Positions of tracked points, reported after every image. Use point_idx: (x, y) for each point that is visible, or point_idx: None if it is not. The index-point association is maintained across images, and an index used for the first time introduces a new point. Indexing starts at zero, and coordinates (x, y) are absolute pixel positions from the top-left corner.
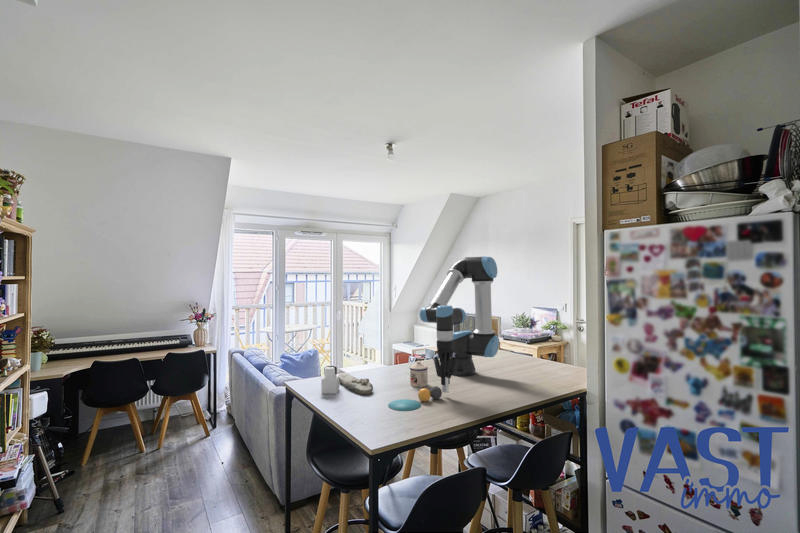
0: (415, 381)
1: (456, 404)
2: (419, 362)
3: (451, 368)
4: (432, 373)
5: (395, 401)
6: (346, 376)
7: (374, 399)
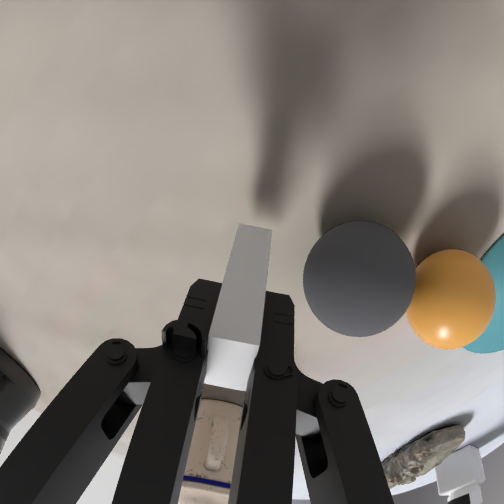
0: None
1: (338, 33)
2: None
3: (89, 440)
4: None
5: (499, 343)
6: None
7: (489, 390)
